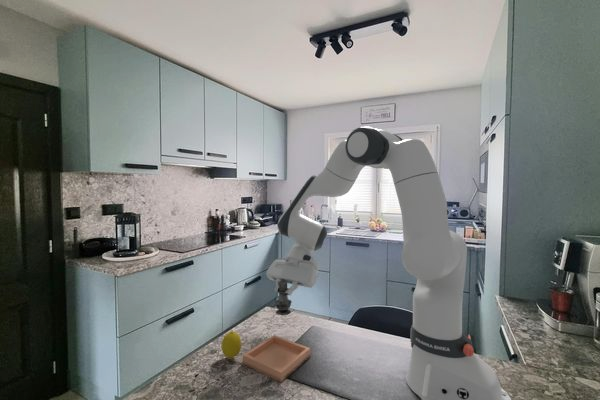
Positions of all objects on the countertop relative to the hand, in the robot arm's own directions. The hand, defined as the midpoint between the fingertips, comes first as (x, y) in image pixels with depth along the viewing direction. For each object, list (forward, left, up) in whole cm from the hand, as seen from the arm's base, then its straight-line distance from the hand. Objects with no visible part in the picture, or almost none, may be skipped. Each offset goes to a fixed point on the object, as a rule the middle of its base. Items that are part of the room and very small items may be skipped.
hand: (282, 293), depth 95 cm
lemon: (+3, +20, -14) cm, 25 cm away
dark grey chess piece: (0, -1, -7) cm, 7 cm away
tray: (-9, +13, -14) cm, 21 cm away
